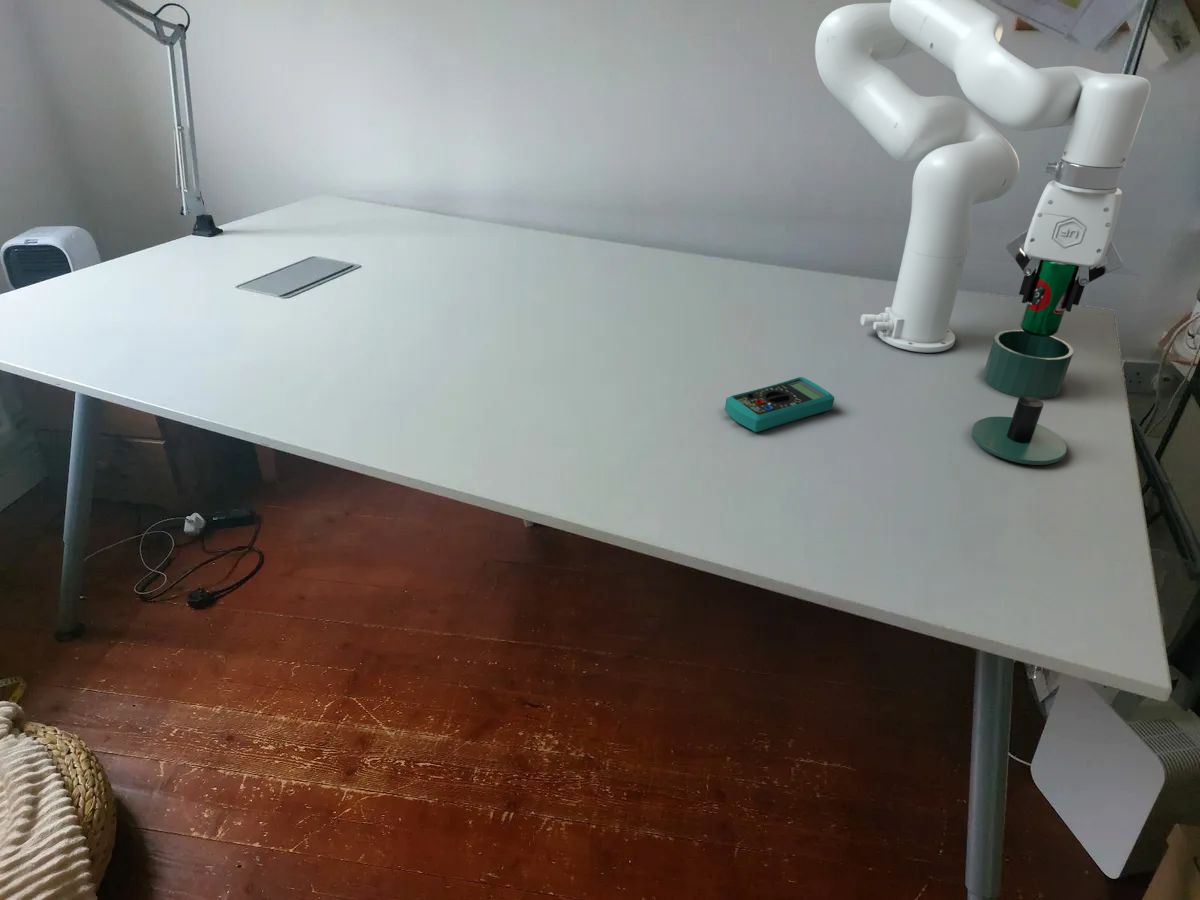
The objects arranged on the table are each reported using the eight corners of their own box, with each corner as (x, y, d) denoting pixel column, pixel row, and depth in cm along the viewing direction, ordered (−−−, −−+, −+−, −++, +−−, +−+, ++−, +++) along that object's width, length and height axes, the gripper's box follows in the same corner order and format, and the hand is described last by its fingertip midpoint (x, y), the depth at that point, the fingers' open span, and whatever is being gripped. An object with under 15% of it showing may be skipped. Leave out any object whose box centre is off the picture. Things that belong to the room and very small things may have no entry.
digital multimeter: (719, 413, 115) (721, 394, 113) (800, 390, 121) (803, 372, 119) (752, 436, 109) (754, 417, 108) (834, 411, 115) (838, 393, 114)
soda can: (1054, 341, 117) (1081, 260, 110) (1016, 333, 119) (1041, 253, 112) (1058, 329, 120) (1085, 250, 114) (1022, 322, 122) (1046, 244, 116)
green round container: (1023, 404, 118) (1036, 364, 115) (967, 373, 126) (978, 335, 123) (1075, 391, 122) (1090, 352, 118) (1018, 362, 130) (1030, 325, 127)
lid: (1018, 476, 102) (1034, 430, 98) (951, 433, 111) (963, 389, 107) (1084, 458, 106) (1101, 413, 102) (1013, 417, 115) (1027, 375, 111)
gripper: (1015, 173, 109) (980, 300, 118) (1161, 191, 101) (1111, 325, 111) (1023, 162, 114) (988, 285, 124) (1162, 179, 107) (1114, 308, 116)
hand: (1047, 303), depth 117 cm, fingers closed on soda can, 5 cm apart
